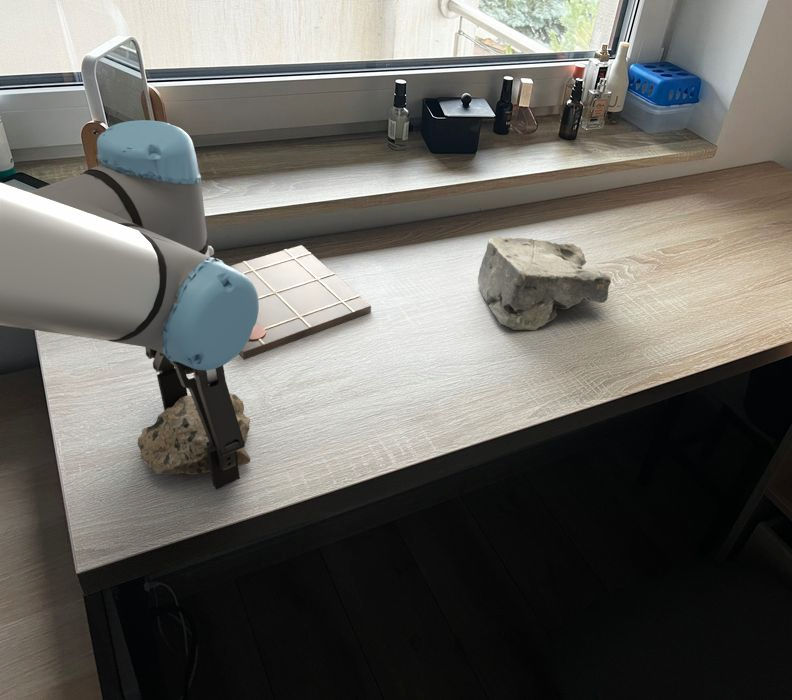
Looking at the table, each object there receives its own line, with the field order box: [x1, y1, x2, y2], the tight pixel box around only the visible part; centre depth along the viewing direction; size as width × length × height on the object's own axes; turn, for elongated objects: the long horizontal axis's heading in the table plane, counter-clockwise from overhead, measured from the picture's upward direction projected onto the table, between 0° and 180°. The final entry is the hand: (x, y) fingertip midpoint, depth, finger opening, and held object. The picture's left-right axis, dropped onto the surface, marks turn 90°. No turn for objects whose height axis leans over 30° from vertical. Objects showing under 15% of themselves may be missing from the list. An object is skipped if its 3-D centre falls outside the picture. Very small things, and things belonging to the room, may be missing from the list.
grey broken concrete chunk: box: [477, 236, 612, 331], centre depth 111 cm, size 16×18×10 cm
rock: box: [137, 393, 251, 475], centre depth 81 cm, size 11×12×4 cm
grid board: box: [228, 244, 372, 360], centre depth 106 cm, size 20×20×1 cm
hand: (201, 446), depth 82 cm, fingers closed on rock, 12 cm apart
